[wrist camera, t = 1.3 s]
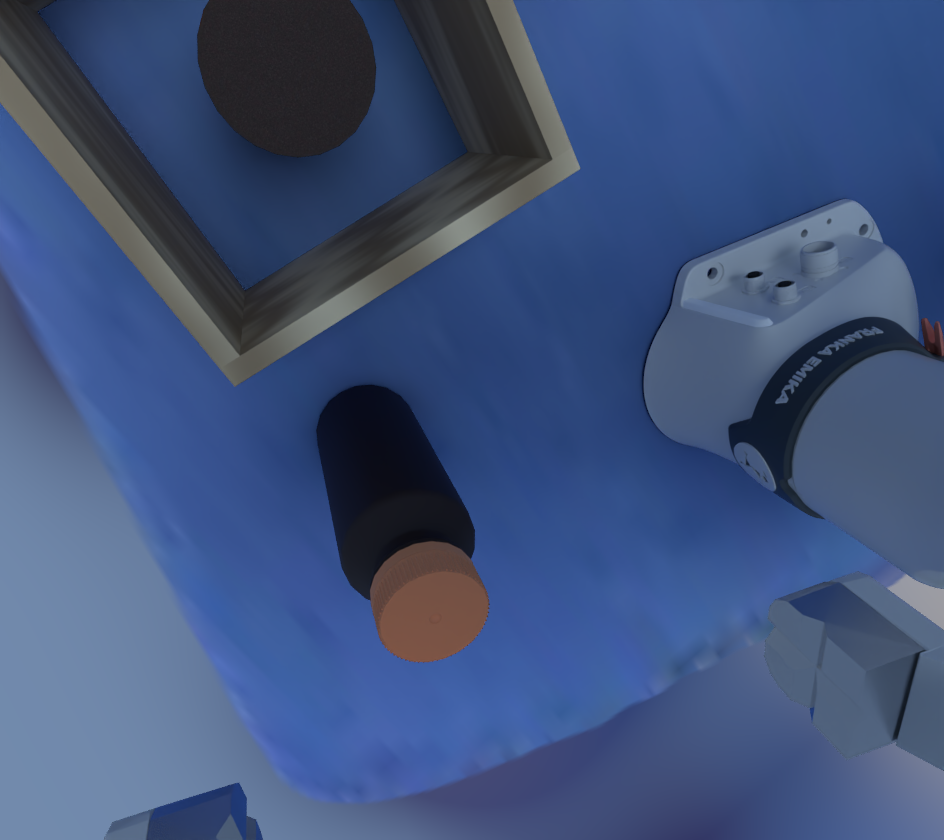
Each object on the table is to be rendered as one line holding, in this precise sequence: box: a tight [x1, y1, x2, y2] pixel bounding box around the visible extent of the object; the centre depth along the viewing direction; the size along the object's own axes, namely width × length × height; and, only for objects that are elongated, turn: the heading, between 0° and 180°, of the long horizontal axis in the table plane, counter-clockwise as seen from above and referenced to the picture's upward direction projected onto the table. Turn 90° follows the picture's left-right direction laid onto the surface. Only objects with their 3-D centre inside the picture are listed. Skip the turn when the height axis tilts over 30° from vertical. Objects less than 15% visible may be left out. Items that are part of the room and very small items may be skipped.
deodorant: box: [197, 0, 376, 157], centre depth 29 cm, size 6×6×15 cm
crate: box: [0, 0, 580, 386], centre depth 30 cm, size 18×18×13 cm
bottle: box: [316, 385, 490, 663], centre depth 36 cm, size 7×7×20 cm
